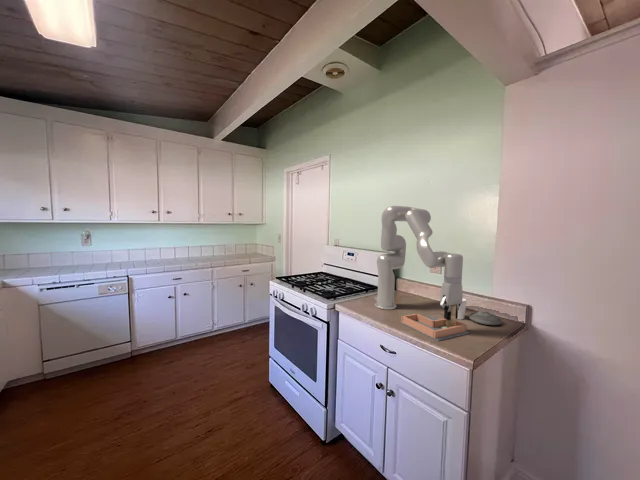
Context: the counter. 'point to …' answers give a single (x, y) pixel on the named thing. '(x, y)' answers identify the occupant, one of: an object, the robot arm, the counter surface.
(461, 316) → the white cup
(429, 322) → the track
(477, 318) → the flying saucer
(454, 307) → the peg
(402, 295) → the counter surface
